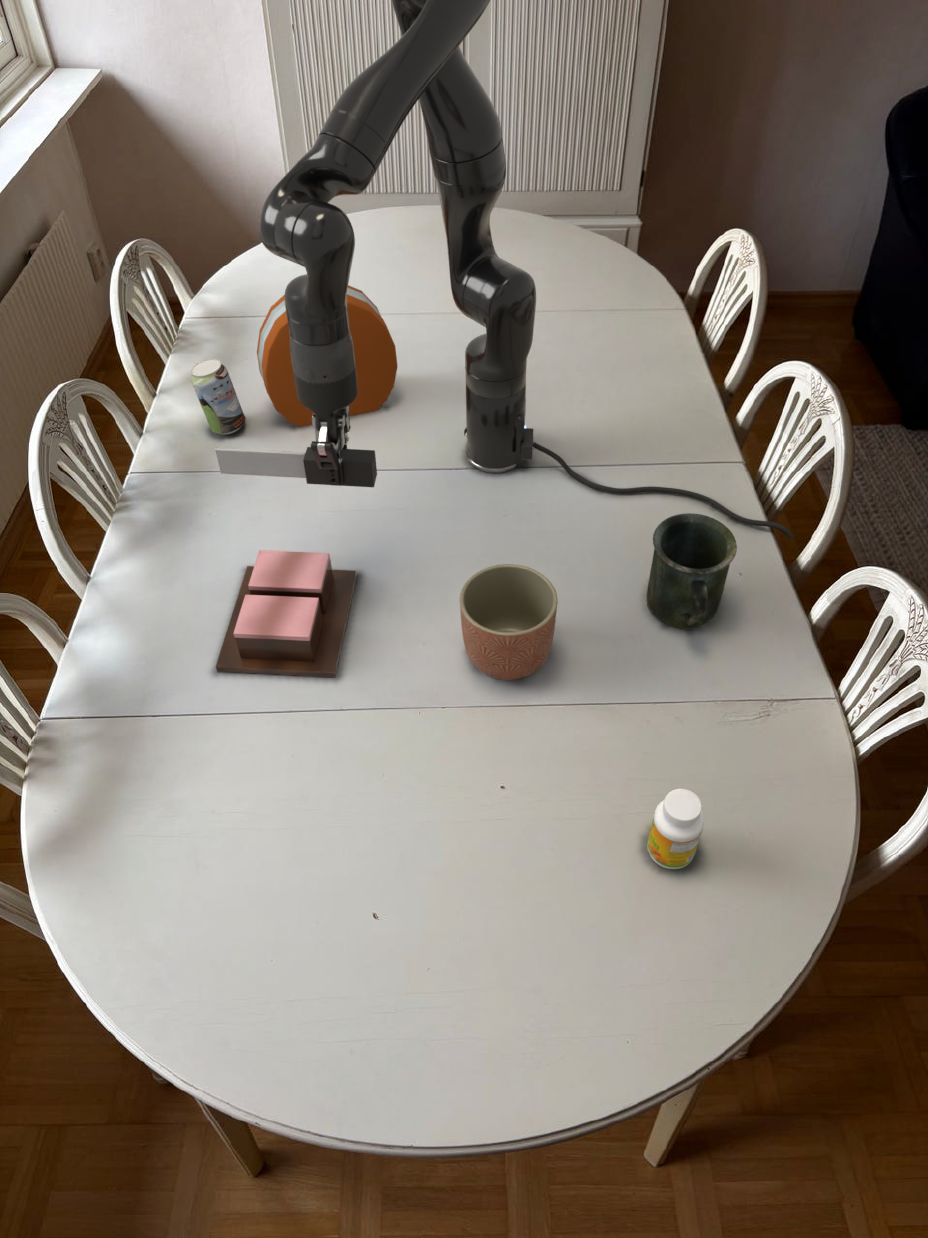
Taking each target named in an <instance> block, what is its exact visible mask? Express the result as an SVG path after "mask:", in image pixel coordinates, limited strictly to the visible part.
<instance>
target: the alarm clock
mask: <svg viewBox="0 0 928 1238" xmlns="http://www.w3.org/2000/svg"><path fill="white" fill-rule="evenodd" d="M284 297H285V294H283V295H282V296H281V297H280V298H279V299H278V300H277V301H276V302H274V303H273V304H272V305H271V306H270V308H269V310H268V311H267V314H266V316H265V318H264V320H263V322H262V324H261V326H260V328H259V333H258V341H257V347H256V356H257V357H256V358H257V363H258V370H259V373H260V377H261V379H262V380H263V385H264V388H265V391H266V393H267V395H268V397H269V399H270V401H271V403H272V405H273V407H274V408H275V411H277V412H278V413H279V414H280V415H281V416H282V417H283V418H284V419H285V420H286V421H287V422H289V423H290V424H293V425H294V426H297V427H306V426H312V415H313V413H314V412H312V411H311V410H309V409H308V408H306V407H304V406H303V405H302V404H301V403H300V402H299V400H298V397H297V391H296V385H295V379H294V373H293V366H292V360H291V354H290V334H289V327H288V321H287V315H286V308H285V298H284ZM346 302H347V311H348V321H349V328H350V333H351V337H352V341H353V346H354V356H355V365H356V375H357V384H358V395H357V397H356V399H355V400H354V402H353V403H352V404H350V417H353V416H359V415H363V414H367V413H368V414H369V413H372V412H376V411H378V410H380V409H381V408H382V406H383V405H384V404H385V403H386V402H387V401H388V399H389V397H390V395H391V393H392V391H393V390H394V387H395V381H396V377H397V372H398V357H397V349H396V345H395V342H394V340H393V338H392V335H391V333H390V331H389V328H388V326H387V324H386V322H385V320H384V318H383V317H382V315H381V313H380V310H379V308H378V307H377V305H376V304H375V303H374V302H373V301H372V300H371V299H370V298H369V297H368V296H367V294H365V292H363V290H361V289H358V288H356V287H354V286H352V285H349V284H348V289H347V295H346Z"/></svg>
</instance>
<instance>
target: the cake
mask: <svg viewBox="0 0 928 1238" xmlns="http://www.w3.org/2000/svg"><path fill="white" fill-rule="evenodd" d="M330 554H331V553H329V552H314V551H313V552H311V551H286V550H285V551H284V550H263V549H261V550H258V552H257V556H256V559H255V562H254V565H253V566H252V565H246V568H245V572H244V574H243V579H242V580H241V581H242V582H241V584H240V588H239V591H238V594H237V598H236V600H235V604H234V607H233V610H232V613H231V616H230V620H229V623H228V626H227V630H226V632H225V636H224V638H223V641H222V645H221V648H220V651H219V654H218V657H217V661H216V664H215V669H216V672H220V673H237V674H256V675H257V674H259V675H281V676H299V677H300V676H301V677H321V678H322V677H323V678H336V676H337V671H338V666H339V661H340V658H341V657H340V656H341V652H342V648H343V643H344V638H345V633H346V628H347V623H348V619H349V615H350V609H351V606H352V605H351V604H352V600H353V595H354V590H355V585H356V580H357V576H358V575H357V574H358V573H357V570H352V569H351V570H348V569H333V567H332V561H331V555H330Z"/></svg>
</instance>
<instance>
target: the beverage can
mask: <svg viewBox="0 0 928 1238" xmlns="http://www.w3.org/2000/svg"><path fill="white" fill-rule="evenodd" d="M190 382H191V384H192V387H193V389H194V391H195V395H196V397H197V399H198V401H199V404H200V406H201V409H202V411H203V414H204V417H205V419H206V421H207V424H208V426H209V428H210V430H211V431H212V432H213V433H214V434H218V435H222V436H223V435H230V434H233V433H235V432H237V431H239V430H240V429H241V428H242V426H243V425H244V424H245V422H246V417H245V413H244V411H243V408H242V406H241V403H240V400H239V397H238V395H237V392H236V389H235V387H234V384H233V382H232V379H231V376H230V373H229V370H228V369H227V367H226V366H225V365H224V364H222V363H221V361H220V360H219V359H213V358H212V359H205V360H203V361H200V362H197V364H195V365H194V366H193V367H192V368H191V375H190Z"/></svg>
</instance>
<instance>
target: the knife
mask: <svg viewBox="0 0 928 1238" xmlns="http://www.w3.org/2000/svg"><path fill="white" fill-rule="evenodd" d="M214 452H215V456H216V459H217V463H218V467H219V471H220V474H221V475H240V476H241V475H242V476H259V477H260V476H261V477H275V478H276V477H277V478H278V477H279V478H295V479H305V480H306V484H307V485H320V486H321V485H322V486H330V485H329V484H328V483H327V477H326V470H325V469H319V467H318V464H317V462H316V460H315V457H314V455H313V453H312V450H311V446H307V447H306V450H305V452H304V451H286V450H267V449H250V448H249V449H247V448H227V447H215V449H214ZM342 458H343V462H342V463H343V471H344V479H345V481H344V484H343V485H342V486H341V487H359V488H360V487H361V488H375V484H376V480H377V476H378V469H377V459H376V450H375V449H357V448H347V449H342Z"/></svg>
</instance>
